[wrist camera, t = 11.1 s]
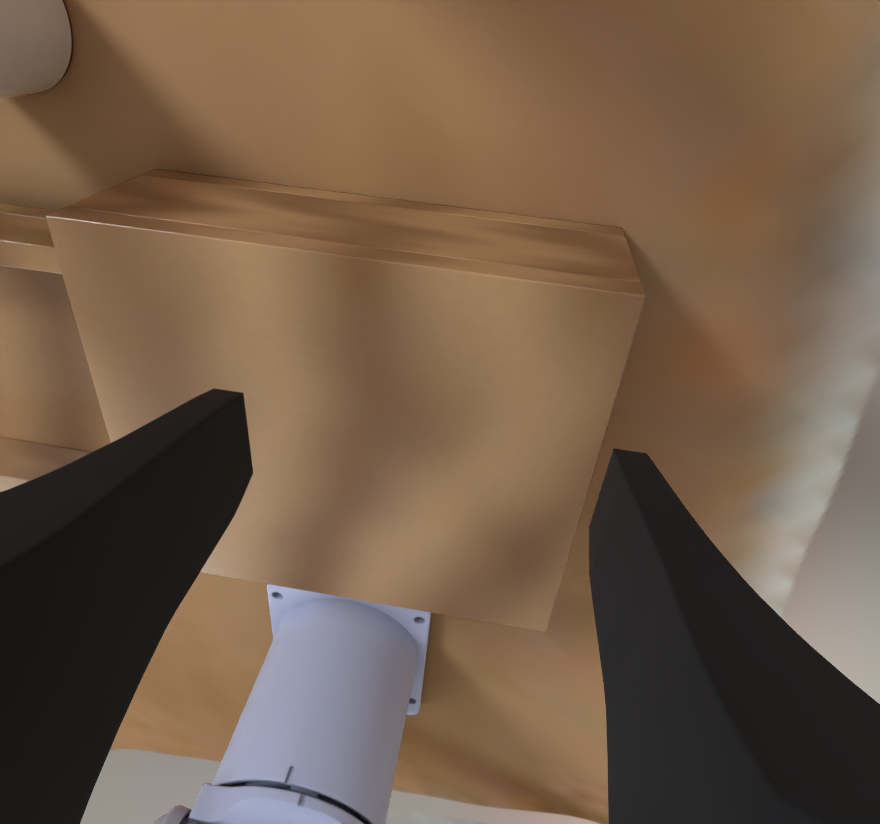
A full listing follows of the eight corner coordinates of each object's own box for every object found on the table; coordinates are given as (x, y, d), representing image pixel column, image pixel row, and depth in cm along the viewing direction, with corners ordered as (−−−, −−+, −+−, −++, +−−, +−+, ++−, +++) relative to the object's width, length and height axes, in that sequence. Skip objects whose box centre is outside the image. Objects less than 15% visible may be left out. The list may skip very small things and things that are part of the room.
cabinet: (208, 473, 26) (144, 563, 22) (154, 168, 19) (44, 215, 15) (545, 528, 25) (545, 633, 21) (623, 227, 18) (647, 295, 14)
